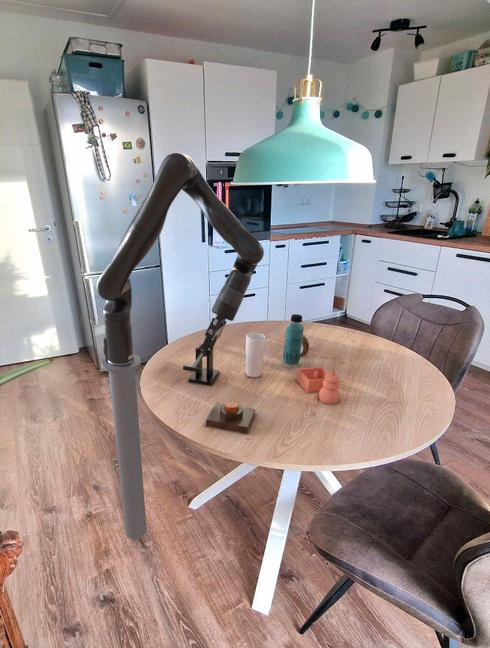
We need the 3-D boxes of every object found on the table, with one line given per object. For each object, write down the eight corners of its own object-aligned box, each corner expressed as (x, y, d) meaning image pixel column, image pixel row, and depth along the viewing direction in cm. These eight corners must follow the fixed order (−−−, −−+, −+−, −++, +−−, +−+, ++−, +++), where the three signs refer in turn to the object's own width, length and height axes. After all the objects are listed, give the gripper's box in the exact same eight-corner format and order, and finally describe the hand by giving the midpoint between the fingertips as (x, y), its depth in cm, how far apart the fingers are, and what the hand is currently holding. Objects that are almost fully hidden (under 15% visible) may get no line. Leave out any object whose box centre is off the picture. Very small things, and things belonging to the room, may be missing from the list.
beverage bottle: (279, 362, 150) (284, 313, 142) (294, 360, 152) (299, 311, 144) (287, 369, 144) (293, 318, 136) (302, 367, 147) (309, 317, 138)
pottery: (296, 379, 137) (299, 354, 133) (320, 377, 140) (324, 352, 135) (319, 405, 122) (324, 378, 117) (346, 402, 124) (351, 375, 120)
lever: (200, 375, 122) (200, 368, 120) (182, 372, 123) (182, 365, 122) (214, 353, 133) (214, 347, 132) (197, 351, 135) (197, 345, 134)
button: (223, 411, 110) (224, 406, 109) (227, 405, 113) (227, 400, 112) (236, 414, 109) (236, 408, 108) (239, 407, 112) (239, 402, 112)
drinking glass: (257, 369, 144) (260, 331, 137) (265, 377, 138) (269, 338, 132) (240, 371, 142) (243, 333, 135) (248, 380, 136) (251, 340, 129)
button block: (206, 425, 110) (206, 414, 108) (216, 408, 118) (216, 396, 117) (247, 433, 107) (248, 421, 105) (254, 415, 116) (255, 403, 114)
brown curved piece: (308, 357, 155) (310, 338, 151) (301, 358, 154) (304, 339, 150) (289, 344, 167) (291, 325, 164) (282, 344, 166) (284, 326, 163)
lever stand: (210, 385, 131) (211, 354, 126) (188, 382, 133) (188, 350, 128) (219, 373, 140) (220, 343, 135) (198, 369, 142) (198, 340, 137)
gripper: (220, 299, 128) (200, 343, 130) (213, 295, 114) (190, 345, 116) (241, 308, 127) (220, 352, 129) (236, 306, 113) (213, 356, 115)
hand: (206, 349), depth 123 cm, fingers open, 8 cm apart
